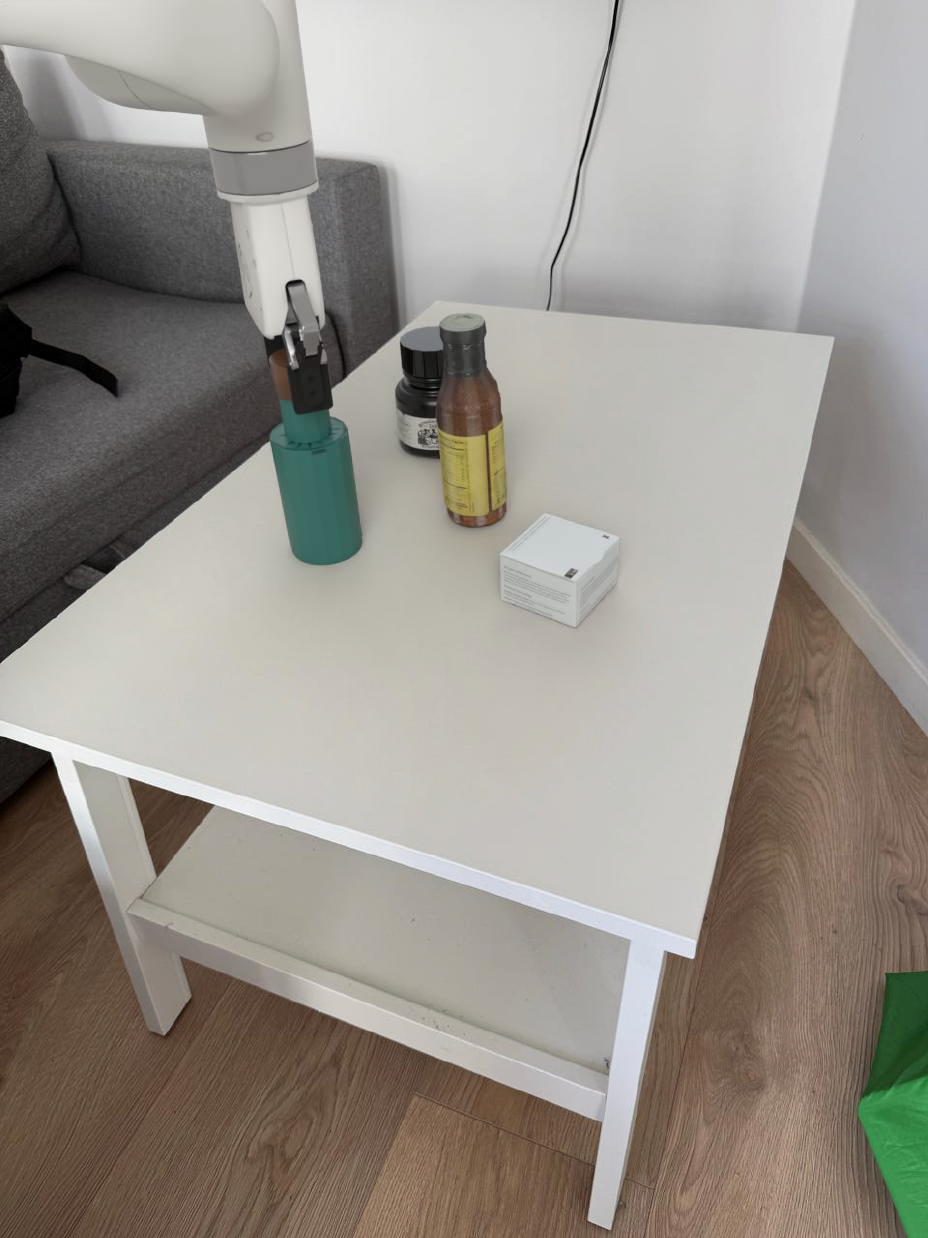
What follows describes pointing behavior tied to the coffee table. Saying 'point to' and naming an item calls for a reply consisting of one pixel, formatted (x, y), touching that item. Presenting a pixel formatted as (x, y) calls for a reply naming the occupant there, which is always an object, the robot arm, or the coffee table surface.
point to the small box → (559, 569)
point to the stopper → (281, 374)
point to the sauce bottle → (470, 426)
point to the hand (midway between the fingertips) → (299, 387)
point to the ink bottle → (420, 390)
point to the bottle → (316, 485)
